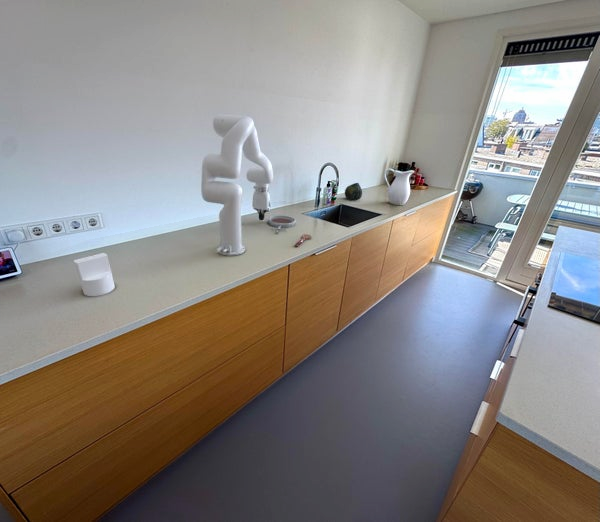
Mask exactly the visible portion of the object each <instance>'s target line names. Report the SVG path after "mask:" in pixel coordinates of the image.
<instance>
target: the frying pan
mask: <svg viewBox="0 0 600 522" xmlns="http://www.w3.org/2000/svg"><path fill="white" fill-rule="evenodd" d="M267 221H268V224H269V225H270V226H272V227H271V229H272V230H273V231H275V234H276V235H277V234H279V231H280V232H283V231H287V229H286V228H292V227H293V226H295V223H296V219H295V218H294V217H293V216H290V215H281V214H280V215H271V216H269V217H268V218H267ZM274 227H275V228H274Z"/></svg>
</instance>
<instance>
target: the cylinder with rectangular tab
mask: <svg viewBox="0 0 600 522" xmlns="http://www.w3.org/2000/svg"><path fill="white" fill-rule="evenodd" d="M73 262H74V266H75V268H76V269H75V270H76V273H77V275H78V279H79V282H80V285H81V288H82V292H83V294H84V295H85V296H87V297H99V296H103V295H107V294H109V293H110V292H112V291H113V290H114V289H115V286H116V285H115V281H114V278H113V277H114V276H113V272H112V269H111V264H110V261H109V257H108V254H107V253H106V252H101V253H98V254H94V255H90V256H86V257H81V258H77V259H73Z"/></svg>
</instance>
